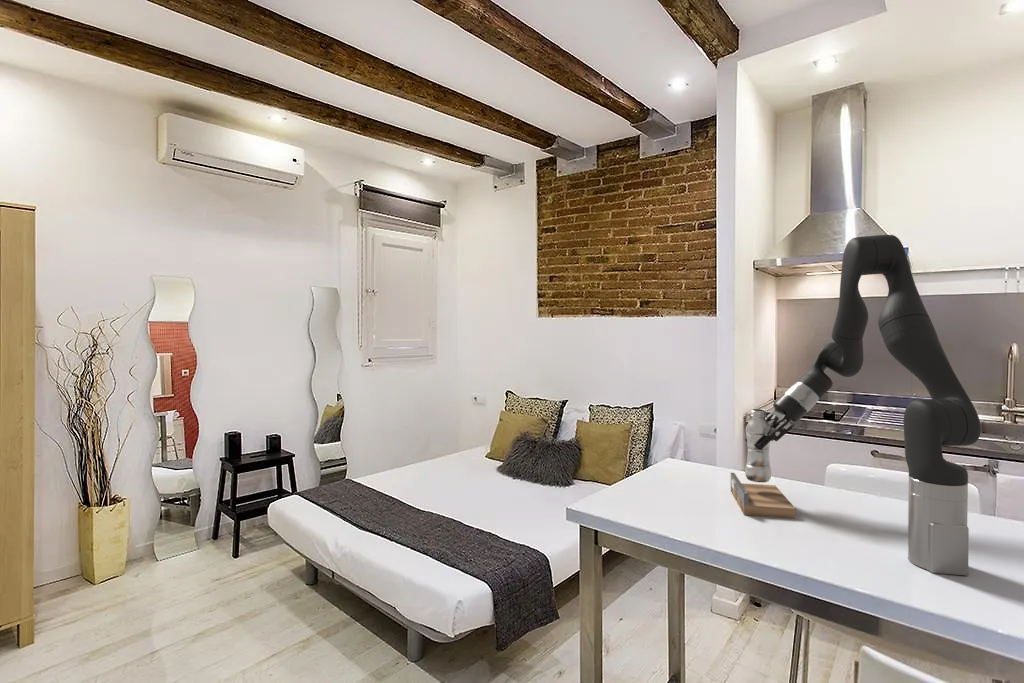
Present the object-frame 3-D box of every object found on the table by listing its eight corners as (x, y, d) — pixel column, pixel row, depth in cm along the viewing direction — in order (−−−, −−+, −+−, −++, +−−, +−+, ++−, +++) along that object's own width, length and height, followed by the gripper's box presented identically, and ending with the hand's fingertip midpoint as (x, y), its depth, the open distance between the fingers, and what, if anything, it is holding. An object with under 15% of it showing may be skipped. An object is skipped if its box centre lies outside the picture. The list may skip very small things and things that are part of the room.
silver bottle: (741, 478, 149) (741, 408, 148) (765, 478, 148) (765, 408, 148) (750, 485, 142) (750, 412, 141) (776, 485, 142) (776, 412, 141)
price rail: (748, 505, 134) (748, 493, 134) (741, 505, 134) (741, 493, 134) (734, 482, 153) (734, 472, 153) (728, 482, 154) (728, 472, 154)
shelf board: (795, 518, 131) (795, 508, 131) (744, 514, 134) (744, 505, 134) (775, 493, 151) (775, 485, 151) (730, 491, 154) (730, 482, 153)
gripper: (774, 389, 151) (732, 430, 152) (798, 396, 137) (752, 441, 138) (793, 407, 151) (751, 448, 152) (819, 416, 137) (773, 461, 138)
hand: (752, 444), depth 145 cm, fingers closed on silver bottle, 6 cm apart
